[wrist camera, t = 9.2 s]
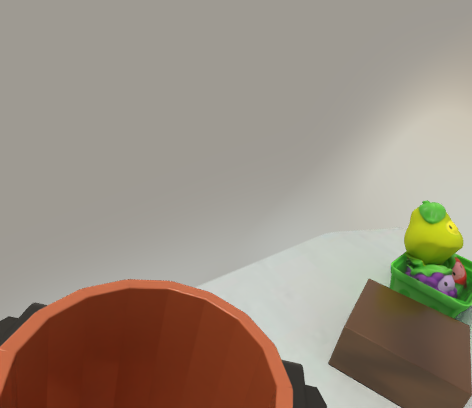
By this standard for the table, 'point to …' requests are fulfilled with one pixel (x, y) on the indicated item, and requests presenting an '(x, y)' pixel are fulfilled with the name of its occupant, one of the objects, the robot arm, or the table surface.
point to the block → (405, 350)
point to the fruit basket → (433, 263)
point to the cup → (142, 352)
